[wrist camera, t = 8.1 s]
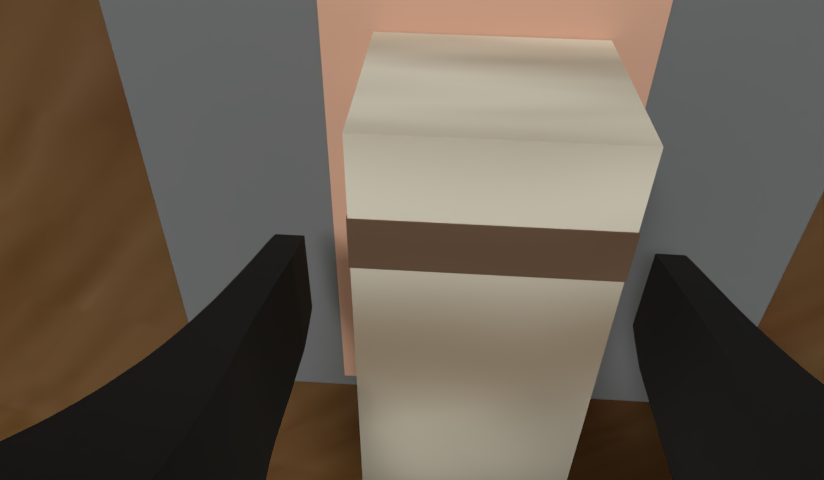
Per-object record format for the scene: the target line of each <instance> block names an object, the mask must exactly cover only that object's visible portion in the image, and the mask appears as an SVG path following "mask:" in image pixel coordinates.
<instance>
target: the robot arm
mask: <svg viewBox="0 0 824 480" xmlns="http://www.w3.org/2000/svg"><path fill="white" fill-rule="evenodd" d="M311 312H312V300H311V291H310V282H309V273H308V264H307V255H306V246H305V237H304V236H303V235H284V234H275V235H274V236H273V237H272V238H271V239H270V240H269V241H268V242H267V243H266V244H265V245H264V246H263V247H262V249H261V250H260V251H259V252H258V253H257V254H256V255H255V257H254V258H253V259H252V260H251V261H250V262H249V263H248V264H247V265H246V266H245V268H244V269H243V270H242V271H241V272H240V273H239V274H238V275H237V276H236V277H235V278H234V279H233V280H232V281H231V282H230V283H229V284H228V285H227V286H226V287H225V289H224V290H223V291H222V292H221V293H220V294H219V295H218V296H217V297H216V298H215V299H214V300H213V301H212V302H211V303H210V304H208V305H207V306H206V307H205V308H204V309H203V310H202V311H201V312H200V313H199V314H198V315H197V316H195V317H194V318H193V319H192V320H191V321H190V322H189V323H188V324H187V325H186V326H185V327H183V328H182V329H181V330H180V331H179V332H178V333H176V334H175V335H174V336H173V337H172V338H170V339H169V340H168V341H167V342H165V343H164V344H163V345H162V346H160V347H159V348H158V349H157V350H155V351H154V352H153V353H151V354H150V355H149V356H147V357H146V358H145V359H143V360H142V361H141V362H139V363H138V364H136V365H135V366H133V367H132V368H130V369H129V370H127V371H126V372H124V373H123V374H121V375H120V376H118V377H117V378H115V379H114V380H112V381H111V382H109V383H108V384H106V385H105V386H103V387H101V388H100V389H98V390H97V391H95V392H93V393H92V394H90V395H88V396H87V397H85V398H83V399H81V400H80V401H78V402H76V403H75V404H73V405H71V406H69V407H67V408H66V409H64V410H62V411H60V412H58V413H57V414H55V415H53V416H51V417H49V418H47V419H45V420H43V421H41V422H39V423H38V424H35V425H33V426H31V427H29V428H27V429H25V430H23V431H21V432H19V433H17V434H15V435H13V436H11V437H9V438H6V439H4V440H2V441H0V480H266V476H267V472H268V467H269V462H270V458H271V455H272V451H273V447H274V444H275V440H276V437H277V434H278V431H279V428H280V425H281V421H282V418H283V415H284V412H285V409H286V406H287V403H288V400H289V397H290V394H291V391H292V387H293V384H294V381H295V378H296V375H297V372H298V369H299V366H300V362H301V359H302V356H303V353H304V349H305V344H306V339H307V334H308V329H309V323H310V318H311ZM633 331H634V338H635V345H636V352H637V357H638V363H639V369H640V372H641V376H642V379H643V383H644V386H645V389H646V393H647V396H648V399H649V403H650V406H651V409H652V412H653V416H654V419H655V422H656V425H657V429H658V432H659V435H660V438H661V441H662V445H663V448H664V451H665V454H666V458H667V461H668V464H669V468H670V471H671V475H672V479H673V480H824V384H822V383H821V382H820V381H818V380H817V379H816V378H815V377H813V376H812V375H811V374H810V373H808V372H807V371H806V370H805V369H804V368H802V367H801V366H800V365H799V364H798V363H796V362H795V361H794V360H793V359H792V358H791V357H790V356H788V355H787V354H786V353H785V352H784V351H783V350H782V349H781V348H779V347H778V346H777V345H776V344H775V343H774V342H773V341H772V340H770V339H769V338H768V337H767V336H766V335H765V334H764V333H763V332H762V331H761V330H760V329H759V328H758V327H757V326H756V325H755V324H753V323H752V322H751V321H750V320H749V319H748V318H747V317H746V316H745V315H744V314H743V313H742V312H741V311H740V310H739V309H738V308H737V307H736V306H735V305H734V304H733V303H732V302H731V301H730V300H729V299H728V298H727V297H726V296H725V295H724V294H723V292H722V291H721V290H720V289H719V288H718V287H717V286H716V285H715V284H714V283H713V282H712V281H711V280H710V279H709V278H708V277H707V276H706V275H705V274H704V273H703V272H702V271H701V270H700V269H699V268H698V267H697V266H696V265H695V264H694V263H693V262H692V261H691V260H690V259H689V258H688V257H687V256H686V255H672V254H655V256H654V259H653V263H652V266H651V269H650V272H649V275H648V278H647V281H646V285H645V288H644V291H643V294H642V297H641V300H640V304H639V307H638V310H637V313H636V316H635V319H634V323H633Z"/></svg>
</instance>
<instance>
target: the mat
mask: <svg viewBox="0 0 824 480" xmlns="http://www.w3.org/2000/svg"><path fill="white" fill-rule="evenodd" d="M99 2H100V5H101V9H102V12H103V16H104V20H105V23H106V27H107V30H108V34H109V38H110V41H111V45H112V48H113V52H114V56H115V59H116V63H117V66H118V70H119V74H120V77H121V81H122V84H123V88H124V92H125V95H126V99H127V102H128V106H129V110H130V113H131V117H132V120H133V124H134V128H135V131H136V135H137V138H138V142H139V146H140V149H141V153H142V156H143V160H144V164H145V167H146V171H147V174H148V178H149V182H150V185H151V189H152V192H153V196H154V199H155V203H156V207H157V210H158V214H159V217H160V221H161V225H162V228H163V232H164V235H165V239H166V243H167V246H168V250H169V253H170V257H171V261H172V264H173V268H174V271H175V275H176V279H177V282H178V286H179V289H180V293H181V297H182V300H183V304H184V307H185V311H186V315H187V318H188V322H190V321H191V320H192V319H193V318H194V317H195V316H197V315H198V314H199V313H200V312H201V311H202V310H203V309H204V308H205V307H206V306H207V305H208V304H210V303H211V302H212V301H213V300H214V299H215V298H216V297H217V296H218V295H219V294H220V293H221V292H222V291H223V290H224V289H225V287H226V286H227V285H228V284H229V283H230V282H231V281H232V280H233V279H234V278H235V277H236V276H237V275H238V274H239V273H240V272H241V271H242V270H243V269H244V268H245V266H246V265H247V264H248V263H249V262H250V261H251V260H252V259H253V258H254V257H255V255H256V254H257V253H258V252H259V251H260V250H261V249H262V247H263V246H264V245H265V244H266V243H267V242H268V241H269V240H270V239H271V238H272V237H273V236H274V235H275V234H284V235H303V236H304V237H305V246H306V255H307V264H308V273H309V282H310V291H311V300H312V312H311V318H310V323H309V329H308V334H307V339H306V344H305V349H304V353H303V356H302V359H301V362H300V366H299V369H298V372H297V375H296V378H295V381H304V382H321V383H338V384H354V385H357V375H356V358H355V341H354V324H353V307H352V289H351V272H350V268H349V262H348V246H347V229H346V216H347V204H346V187H345V170H344V153H343V135H342V132H343V129H344V126H345V123H346V119H347V116H348V113H349V110H350V106H351V103H352V100H353V96H354V93H355V90H356V87H357V83H358V80H359V77H360V74H361V70H362V67H363V64H364V61H365V57H366V54H367V51H368V47H369V44H370V41H371V38H372V34H373V32H400V33H427V34H454V35H480V36H507V37H534V38H561V39H588V40H612V42H613V44H614V46H615V48H616V50H617V52H618V54H619V56H620V58H621V60H622V62H623V64H624V67H625V69H626V71H627V73H628V75H629V77H630V79H631V81H632V83H633V85H634V87H635V89H636V91H637V93H638V95H639V97H640V99H641V101H642V103H643V106H644V108H645V110H646V112H647V114H648V116H649V118H650V120H651V122H652V124H653V126H654V128H655V130H656V132H657V134H658V136H659V138H660V140H661V142H662V145H663V151H662V154H661V158H660V161H659V165H658V168H657V172H656V175H655V178H654V182H653V185H652V189H651V192H650V196H649V199H648V203H647V206H646V209H645V213H644V216H643V220H642V223H641V227H640V230H639V231H640V236H639V240H638V243H637V247H636V250H635V254H634V257H633V260H632V264H631V267H630V271H629V274H628V277H627V281H626V282H624V285H623V289H622V292H621V296H620V299H619V302H618V306H617V309H616V313H615V316H614V320H613V323H612V326H611V330H610V333H609V337H608V340H607V344H606V347H605V351H604V354H603V357H602V361H601V364H600V368H599V371H598V375H597V378H596V382H595V385H594V388H593V392H592V395H591V399H606V400H623V401H639V402H649V399H648V396H647V393H646V389H645V386H644V383H643V379H642V376H641V372H640V369H639V363H638V357H637V352H636V345H635V338H634V331H633V323H634V319H635V316H636V313H637V310H638V307H639V304H640V300H641V297H642V294H643V291H644V288H645V285H646V281H647V278H648V275H649V272H650V269H651V266H652V263H653V259H654V256H655V254H672V255H686V256H687V257H688V258H689V259H690V260H691V261H692V262H693V263H694V264H695V265H696V266H697V267H698V268H699V269H700V270H701V271H702V272H703V273H704V274H705V275H706V276H707V277H708V278H709V279H710V280H711V281H712V282H713V283H714V284H715V285H716V286H717V287H718V288H719V289H720V290H721V291H722V292H723V294H724V295H725V296H726V297H727V298H728V299H729V300H730V301H731V302H732V303H733V304H734V305H735V306H736V307H737V308H738V309H739V310H740V311H741V312H742V313H743V314H744V315H745V316H746V317H747V318H748V319H749V320H750V321H751V322H752V323H753V324H755V325H756V326H757V327H758V325H759V323H760V321H761V319H762V317H763V315H764V313H765V311H766V308H767V306H768V304H769V302H770V300H771V298H772V296H773V294H774V292H775V290H776V288H777V286H778V284H779V282H780V280H781V278H782V275H783V273H784V271H785V269H786V267H787V265H788V263H789V261H790V259H791V257H792V255H793V253H794V251H795V249H796V247H797V245H798V242H799V240H800V238H801V236H802V234H803V232H804V230H805V228H806V226H807V224H808V222H809V220H810V218H811V216H812V214H813V212H814V210H815V207H816V205H817V203H818V201H819V199H820V197H821V195H822V193H823V191H824V0H99Z"/></svg>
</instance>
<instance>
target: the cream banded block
mask: <svg viewBox="0 0 824 480" xmlns="http://www.w3.org/2000/svg"><path fill="white" fill-rule="evenodd" d="M342 135H343V153H344V170H345V187H346V204H347V216H346V229H347V246H348V262H349V268H350V272H351V289H352V307H353V324H354V341H355V358H356V375H357V392H358V409H359V426H360V443H361V460H362V478H363V480H567V478H568V475H569V471H570V468H571V464H572V461H573V457H574V454H575V450H576V447H577V444H578V440H579V437H580V433H581V430H582V426H583V423H584V419H585V416H586V413H587V409H588V406H589V402H590V399H591V395H592V392H593V388H594V385H595V382H596V378H597V375H598V371H599V368H600V364H601V361H602V357H603V354H604V351H605V347H606V344H607V340H608V337H609V333H610V330H611V326H612V323H613V320H614V316H615V313H616V309H617V306H618V302H619V299H620V296H621V292H622V289H623V285H624V282H626V281H627V277H628V274H629V271H630V267H631V264H632V260H633V257H634V254H635V250H636V247H637V243H638V240H639V236H640V231H639V230H640V227H641V223H642V220H643V216H644V213H645V209H646V206H647V203H648V199H649V196H650V192H651V189H652V185H653V182H654V178H655V175H656V172H657V168H658V165H659V161H660V158H661V154H662V151H663V145H662V142H661V140H660V138H659V136H658V134H657V132H656V130H655V128H654V126H653V124H652V122H651V120H650V118H649V116H648V114H647V112H646V110H645V108H644V106H643V103H642V101H641V99H640V97H639V95H638V93H637V91H636V89H635V87H634V85H633V83H632V81H631V79H630V77H629V75H628V73H627V71H626V69H625V67H624V64H623V62H622V60H621V58H620V56H619V54H618V52H617V50H616V48H615V46H614V44H613V42H612V40H588V39H561V38H534V37H507V36H480V35H454V34H427V33H400V32H373V34H372V38H371V41H370V44H369V47H368V51H367V54H366V57H365V61H364V64H363V67H362V70H361V74H360V77H359V80H358V83H357V87H356V90H355V93H354V96H353V100H352V103H351V106H350V110H349V113H348V116H347V119H346V123H345V126H344V129H343V132H342Z"/></svg>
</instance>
